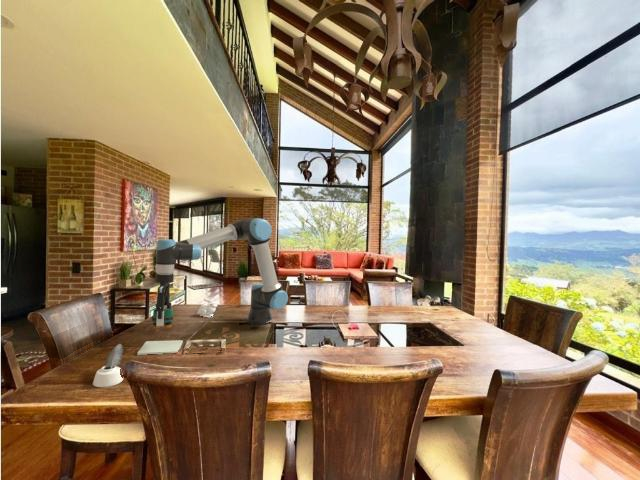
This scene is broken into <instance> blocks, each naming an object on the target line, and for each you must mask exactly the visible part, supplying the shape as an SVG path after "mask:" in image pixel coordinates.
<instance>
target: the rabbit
mask: <svg viewBox="0 0 640 480" xmlns="http://www.w3.org/2000/svg"><path fill="white" fill-rule="evenodd" d="M203 301H204V302H207V303H203V304H201V305H200V306H199V308H198V310H197V315H199V316H200V317H201V316H203V317H202V318H205V317H208V318H212V317H214V316H213V315H214V313H215V312H216V310H217V309H216V308H217V307H218V303H217V301H212V300H210V299H208V298H206V297H204V299H203ZM211 316H212V317H211Z"/></svg>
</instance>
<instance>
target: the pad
mask: <svg viewBox="0 0 640 480" xmlns="http://www.w3.org/2000/svg"><path fill="white" fill-rule="evenodd" d="M183 343H184V341H183V339H182V340H181V339H179V340H177V339H176V340H146V341H145V342H144V343H143V345H142V346H141V348H140V349H138V351H137V354H136V355H137V356H148V355H147V354H158V355H164V354H163V353H173V352H178V350H179V349H180V350H181V348H182V345H183ZM180 350H179V351H180ZM178 353H179V352H178Z"/></svg>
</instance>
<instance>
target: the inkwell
mask: <svg viewBox="0 0 640 480" xmlns="http://www.w3.org/2000/svg"><path fill="white" fill-rule="evenodd" d="M123 353H124V348H123V345H122V344H121V343H118V344H117V345H115V346H114V348H113V349H112V350H111V351H110V352H109V354H108V355H107V359H106V360H105V365H104V366H102V367H101V368H100V369H97V371H96V373H95V376H94V379H93V381H92V385H93V386H94V387H97V388H107V387H108V388H110V387H113V386H116V385H118V384H120V383H122V382H123V380H124V377H123V378H122V377H121V375H120V369H121V370H122V368H121V367H119V365H121V362H122V361H123V356H124V355H123Z"/></svg>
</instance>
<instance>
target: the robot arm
mask: <svg viewBox="0 0 640 480" xmlns="http://www.w3.org/2000/svg"><path fill="white" fill-rule="evenodd" d="M272 230H273V229H272V226H271V224H270V222H269V221H267V220H266V219H264V218H259V217H255V218H251V217H250V218H249V217H248V218H242V219H240V220H237V221H233V222H231V223H229V224H228V225H227V226H225V227H222V228H219V229H215V230H211V231H209V232H206V233H203V234H202V233H201V234H199V235H196V236H193V237H190V238H189V237H188V238H186V239H183V240H179V241H176V240H175V239H167V238H166V239H165V238H160V239H158V240H157V241H156V255H155V258H156V259H155V265H154V268H155V273H156V274H155V277H154V282H155V283H158V284H159V286H158V288H157V296H156V298H157V299H156V304H157V305H156V304H155V305H156V306H155V309H156V310H155V311H157V321H156V326H160V327H164V309H166V308H167V306H166V305H167V304H171V301H170V298H171V297H170V294H171V293H170V291H171V290H170V289H171V288H170V287H171V283H173V282H174V278H175V277H174V276H175V275H174V272H175V261H196V260H198V261H199V260H200V258H201V257H202V250H204V249H208V248H212V247H213V246H217V245H219V244H224V243H225V242H229V241H237V240H242V239H243V240H245V239H247V240H248V244H249V246H251V247H252V249H253V252H254V256H255V259H256V264H257V268H258V271H259V275H260V279H261V283H257V284H253V285H251V290H250V309H249V312H248V315H247V317H246V322H247V323H248V324H250V325H266V324H265V323H266V322H268V321H270V320H272V321H273V317H272V313H271V310H273V311H281V310H283V308H285V307H286V305H287V304H288V300H289V296H288V293H287V292H286V291H285V290H283V287H282V283H280V282H279V281H278V276H277V273H276V270H275V269H276V268H275V266H274V261H273V257H272V254H271V249H270V246H269V243H270V241H271V238H270V237H272V233H273V231H272ZM171 305H172V304H171Z"/></svg>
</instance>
